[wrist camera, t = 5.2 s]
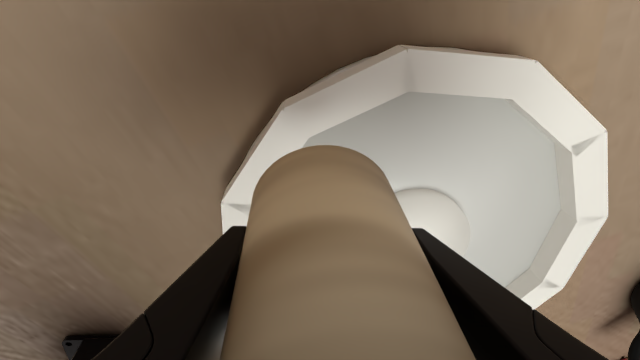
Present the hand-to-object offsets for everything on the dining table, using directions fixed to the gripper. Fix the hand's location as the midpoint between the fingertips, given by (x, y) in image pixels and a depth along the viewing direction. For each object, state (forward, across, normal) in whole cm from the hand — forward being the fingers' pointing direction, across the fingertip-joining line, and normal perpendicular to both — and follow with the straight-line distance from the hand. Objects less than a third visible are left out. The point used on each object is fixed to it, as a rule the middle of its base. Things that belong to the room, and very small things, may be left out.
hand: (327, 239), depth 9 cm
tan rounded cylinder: (+1, 0, 0) cm, 1 cm away
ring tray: (+12, -7, +9) cm, 16 cm away
